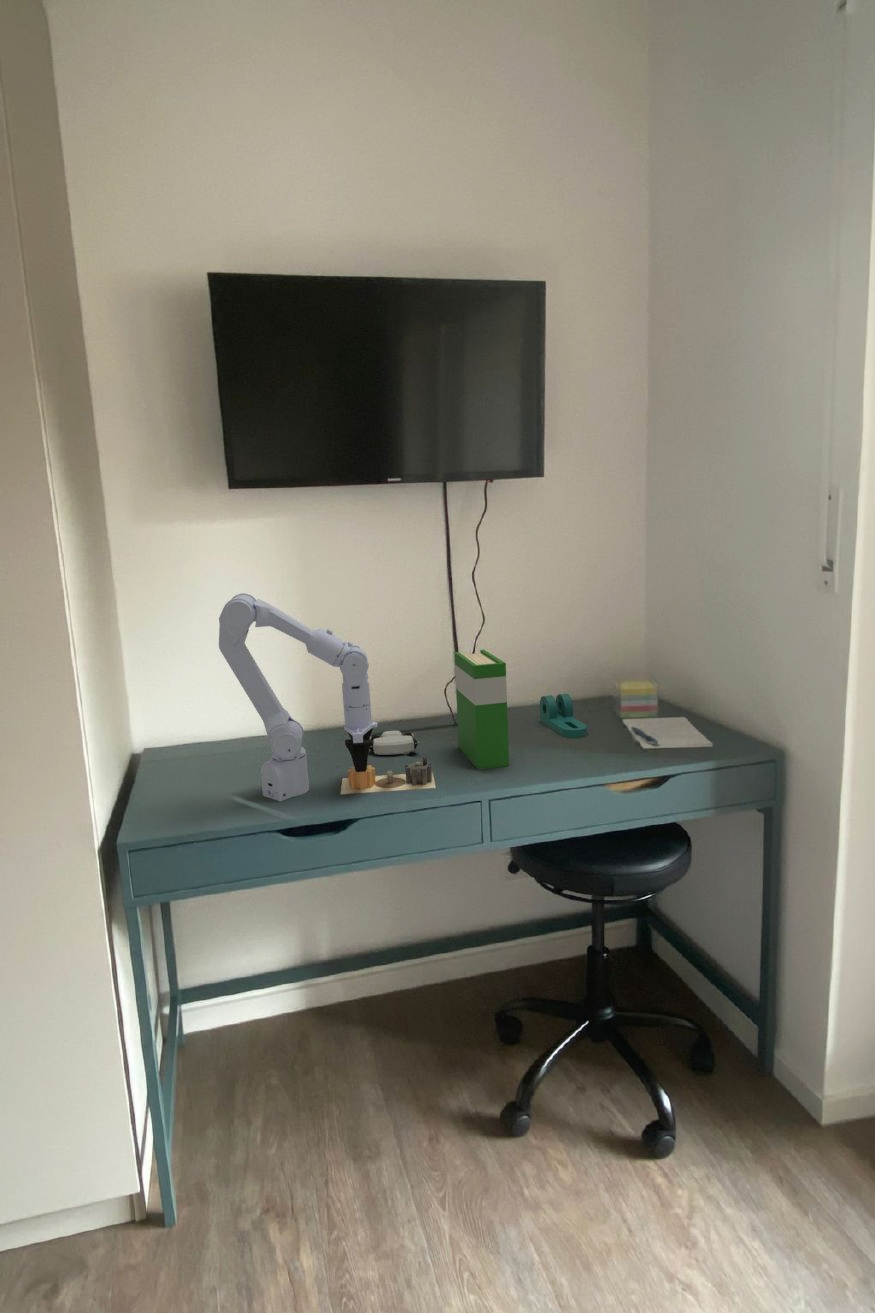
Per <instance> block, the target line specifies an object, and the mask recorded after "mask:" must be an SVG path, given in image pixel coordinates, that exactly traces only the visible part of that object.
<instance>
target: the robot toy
mask: <svg viewBox="0 0 875 1313" xmlns="http://www.w3.org/2000/svg"><path fill="white" fill-rule="evenodd" d="M370 739H372V744H371V746H370V749H369V751H370V752H372V753H374V754H375V755H380V756H385V755H386V756H388V755H389V756H391V755H403V756H408V755H409V754H410V753H411V752H412V753H413V752H414V750H416V748H417V747H418V745H420V741H418V740H417V739H416V738H415V737H414V733H412V732H409V731H408V732H405V733H404V734H402V732H401V731H400V730H387V731H382V734H381V735H377V734H373V735H371V736H370ZM370 739H369V740H370Z"/></svg>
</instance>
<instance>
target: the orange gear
mask: <svg viewBox="0 0 875 1313" xmlns="http://www.w3.org/2000/svg"><path fill="white" fill-rule="evenodd" d="M347 776H348V777H347V778H349V786H351V788H353V789H355V788H360V789H364V788H367V787H370V788H371V787H373V784H376V779H375V776H376V770H375V767H373V765H371V764H370V765H369V764H368V765H367V769H366V772H356V770H355V767H354V765H353V766H351V767H350V769H347Z"/></svg>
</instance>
